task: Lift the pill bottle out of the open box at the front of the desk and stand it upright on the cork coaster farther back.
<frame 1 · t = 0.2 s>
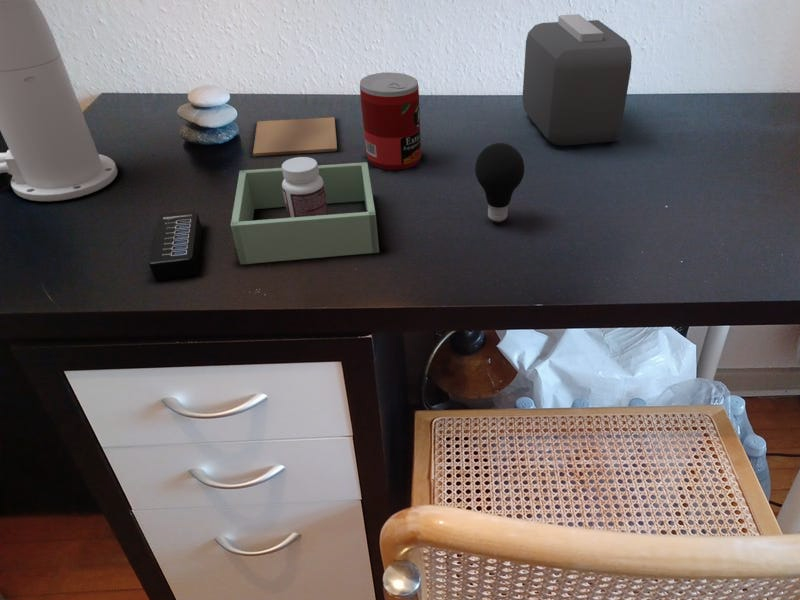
pill bottle: (310, 230, 81), resting in open box
coaster: (296, 137, 101), on the table
multiport hub: (180, 254, 76), on the table
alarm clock: (564, 130, 105), on the table
light bulb: (497, 223, 83), on the table
canned food: (394, 160, 96), on the table
open box: (310, 228, 81), on the table
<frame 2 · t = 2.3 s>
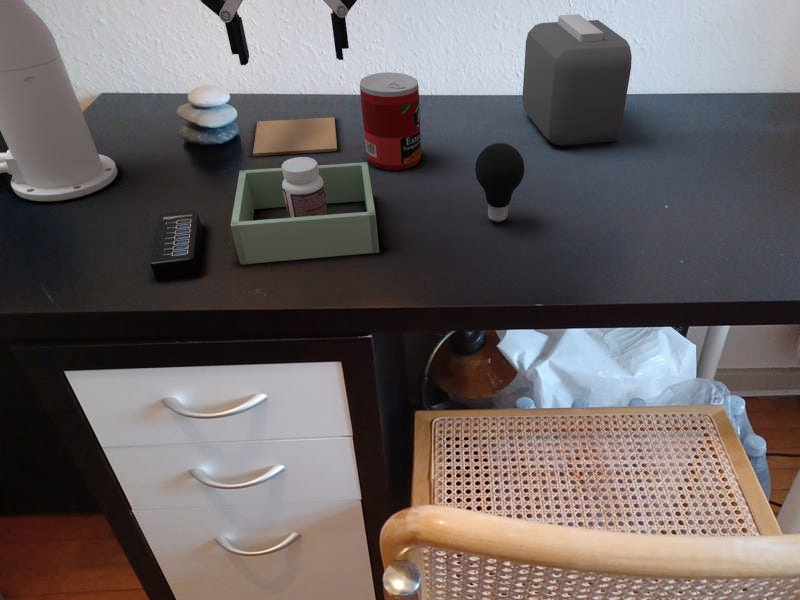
hand: (292, 58, 69), 19 cm above the table, tool pointing down, fingers open, 9 cm apart
nothing on the table moved.
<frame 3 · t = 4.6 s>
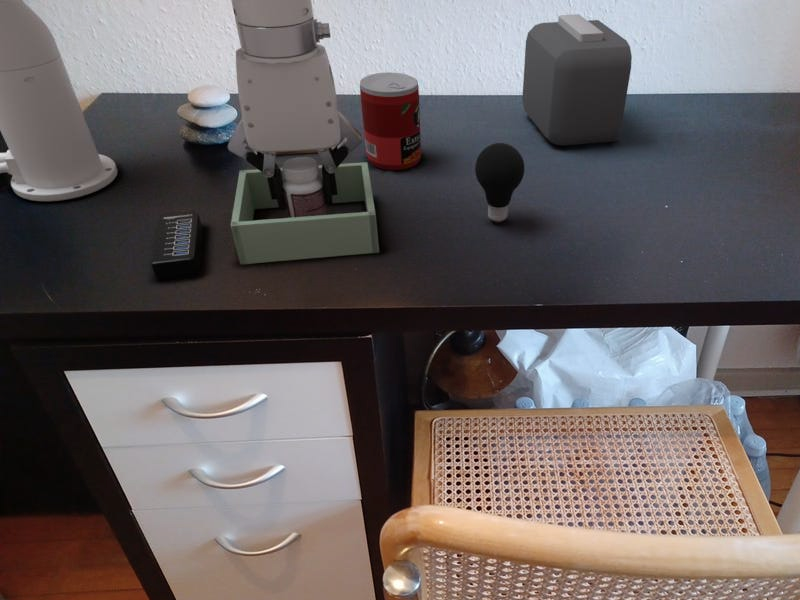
hand: (305, 200, 78), 4 cm above the table, tool pointing down, fingers closed on pill bottle, 4 cm apart
pill bottle: (310, 230, 81), resting in open box, touching gripper
everything else where it was.
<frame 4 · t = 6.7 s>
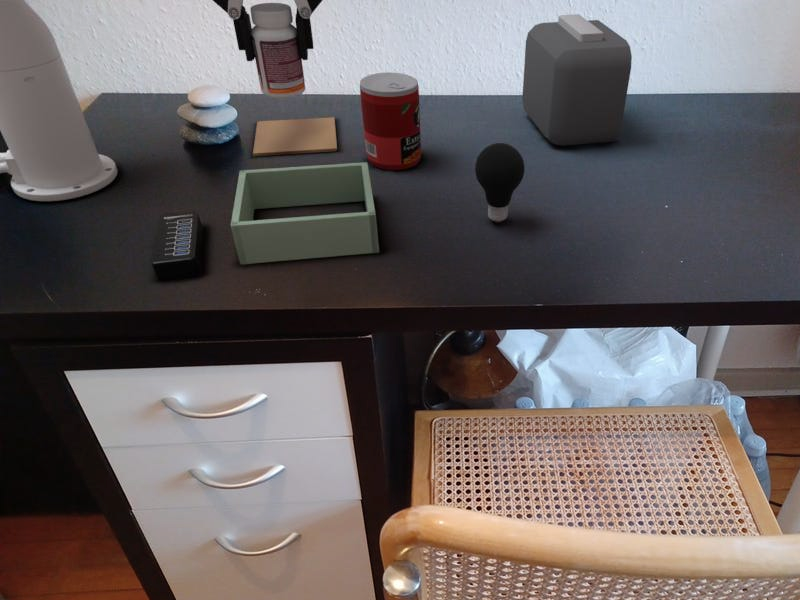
hand: (277, 54, 70), 19 cm above the table, tool pointing down, fingers closed on pill bottle, 4 cm apart
pill bottle: (283, 93, 72), point 15 cm above the table, touching gripper
everything else where it was.
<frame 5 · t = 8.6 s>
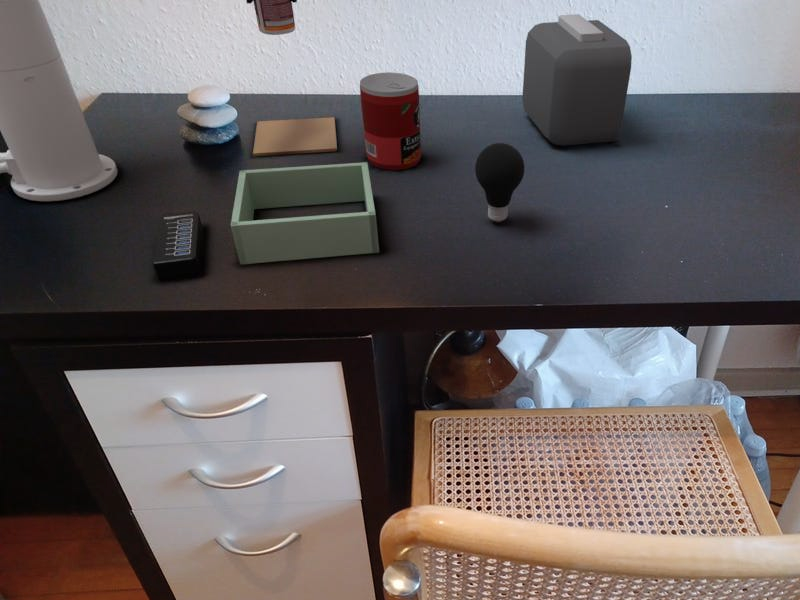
pill bottle: (277, 32, 88), point 16 cm above the table, touching gripper
everything else where it was.
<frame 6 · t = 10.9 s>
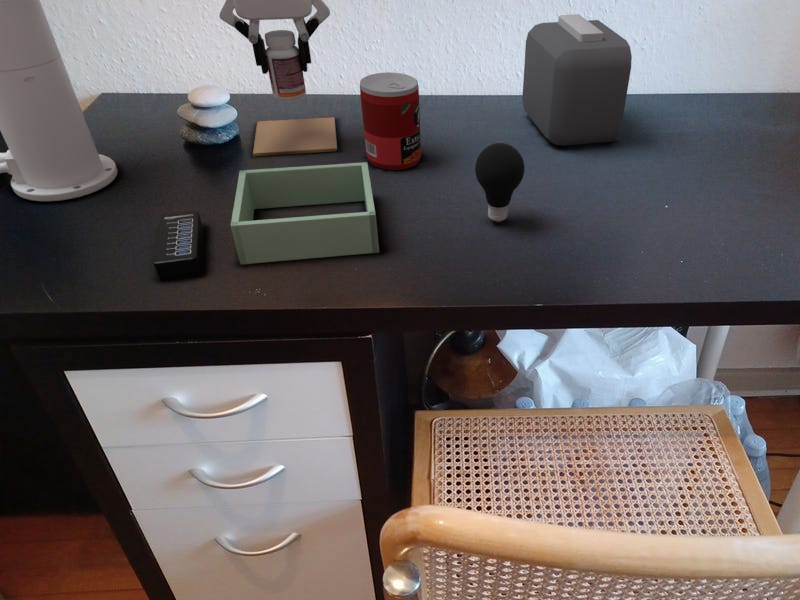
hand: (285, 68, 94), 10 cm above the table, tool pointing down, fingers closed on pill bottle, 4 cm apart
pill bottle: (290, 96, 97), point 6 cm above the table, touching gripper
everything else where it was.
when the fingers open (4 cm above the table, at t = 12.7 s): pill bottle stays where it is, resting on coaster.
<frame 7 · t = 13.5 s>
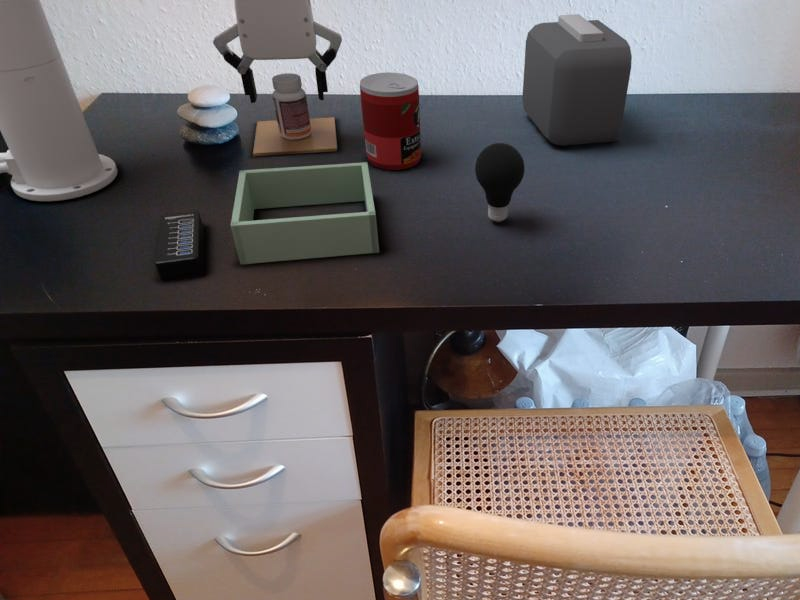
hand: (288, 98, 97), 6 cm above the table, tool pointing down, fingers open, 9 cm apart
pill bottle: (296, 135, 101), resting on coaster
everything else where it was.
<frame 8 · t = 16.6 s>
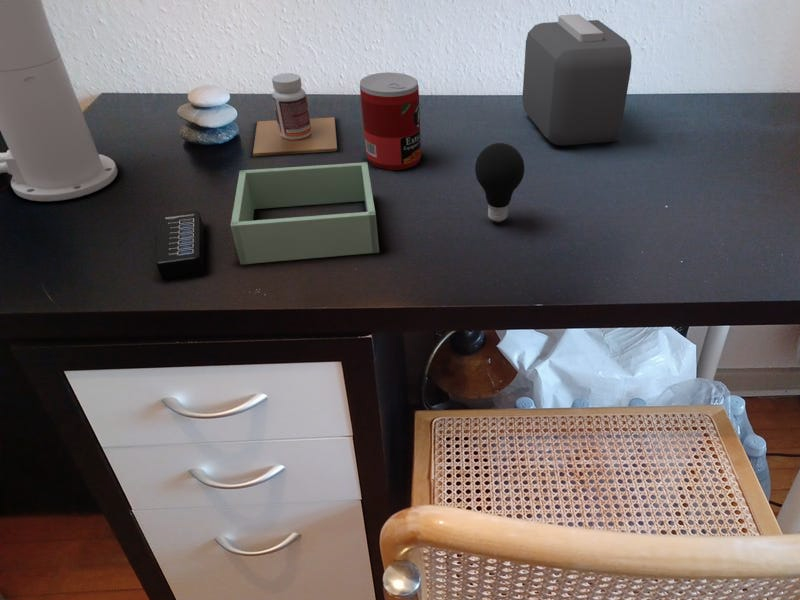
nothing on the table moved.
at the end: pill bottle inside the target area on the coaster (0.0 cm from its centre), point 0.3 cm above the coaster's base; pill bottle tilted 0°; the gripper is holding nothing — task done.
